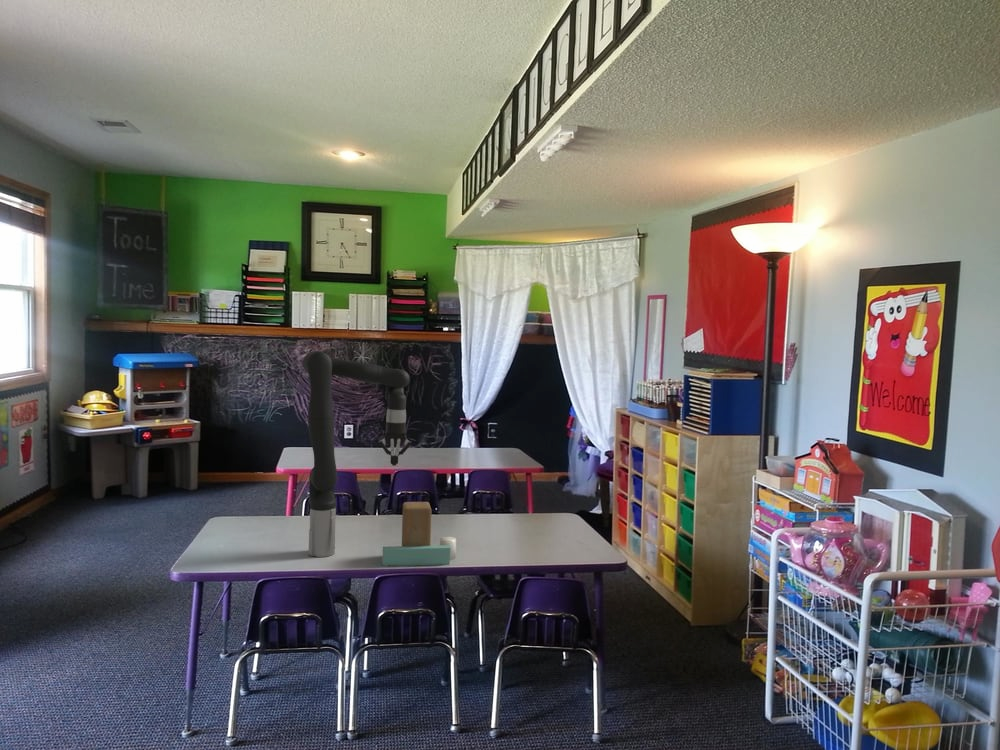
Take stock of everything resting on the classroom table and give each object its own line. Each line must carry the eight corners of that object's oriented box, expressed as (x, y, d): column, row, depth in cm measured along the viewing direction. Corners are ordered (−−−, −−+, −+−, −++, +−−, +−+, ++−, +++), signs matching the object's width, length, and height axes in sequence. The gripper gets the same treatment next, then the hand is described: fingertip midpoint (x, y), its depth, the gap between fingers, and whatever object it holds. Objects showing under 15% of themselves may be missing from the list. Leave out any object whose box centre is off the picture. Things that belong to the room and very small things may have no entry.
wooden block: (402, 562, 252) (404, 508, 251) (401, 553, 262) (402, 501, 260) (430, 561, 254) (431, 507, 252) (427, 553, 264) (429, 501, 262)
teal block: (382, 565, 248) (382, 549, 247) (382, 563, 250) (382, 546, 250) (449, 564, 252) (450, 547, 252) (448, 561, 255) (449, 545, 254)
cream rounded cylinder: (440, 560, 256) (441, 541, 255) (438, 555, 262) (439, 536, 261) (456, 560, 257) (457, 541, 256) (454, 554, 263) (455, 536, 262)
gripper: (378, 421, 264) (376, 466, 265) (413, 422, 266) (411, 467, 267) (378, 419, 271) (376, 463, 272) (412, 420, 274) (410, 463, 275)
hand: (394, 465), depth 270 cm, fingers closed
